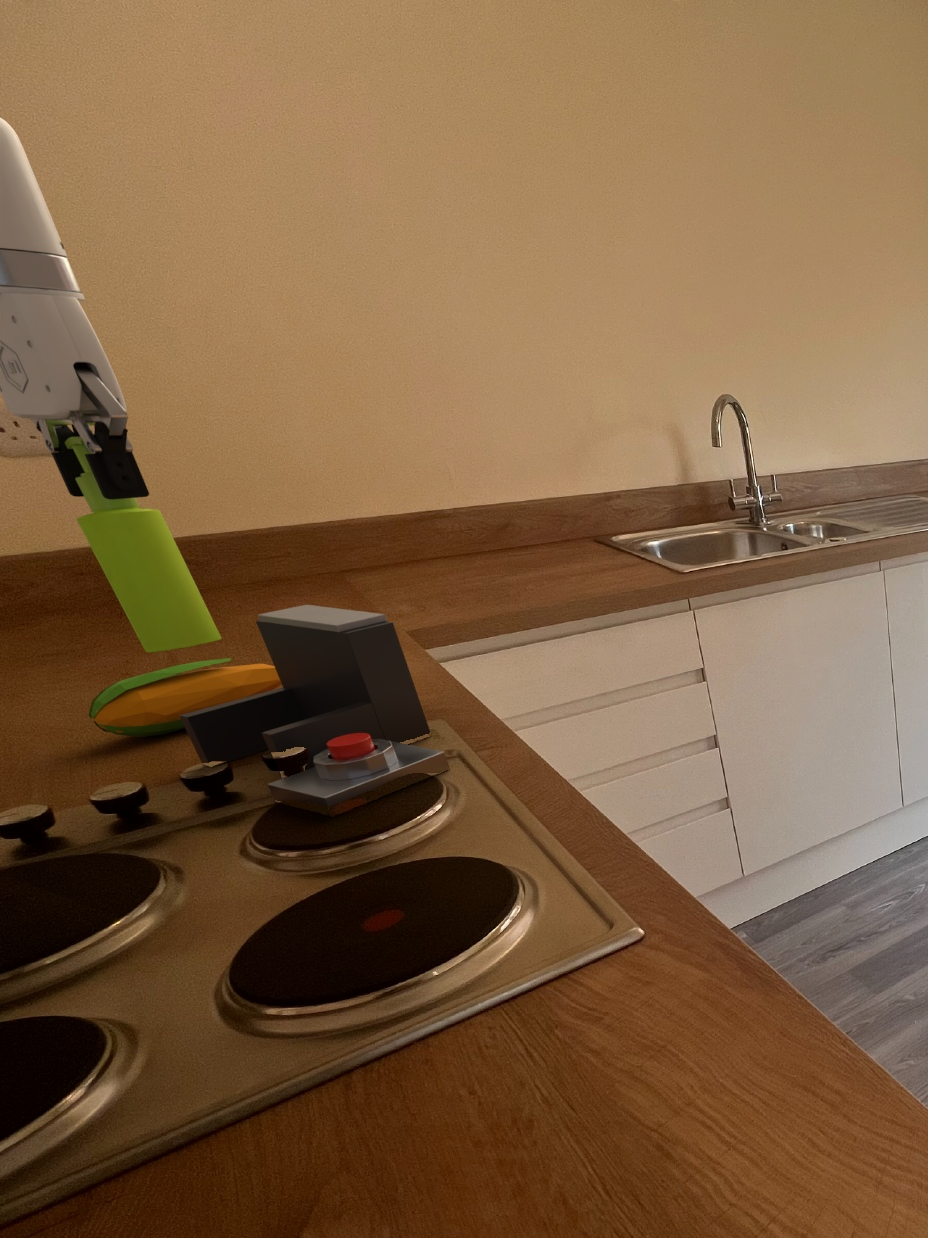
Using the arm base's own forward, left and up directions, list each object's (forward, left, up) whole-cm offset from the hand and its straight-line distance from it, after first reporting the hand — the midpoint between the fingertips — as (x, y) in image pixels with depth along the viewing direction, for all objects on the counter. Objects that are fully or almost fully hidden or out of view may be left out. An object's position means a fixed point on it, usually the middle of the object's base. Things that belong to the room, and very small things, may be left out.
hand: (110, 494), depth 81 cm
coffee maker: (+6, -4, -29) cm, 30 cm away
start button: (+2, -19, -25) cm, 32 cm away
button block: (+2, -19, -29) cm, 35 cm away
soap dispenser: (0, -2, -15) cm, 15 cm away
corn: (+8, +21, -29) cm, 37 cm away
